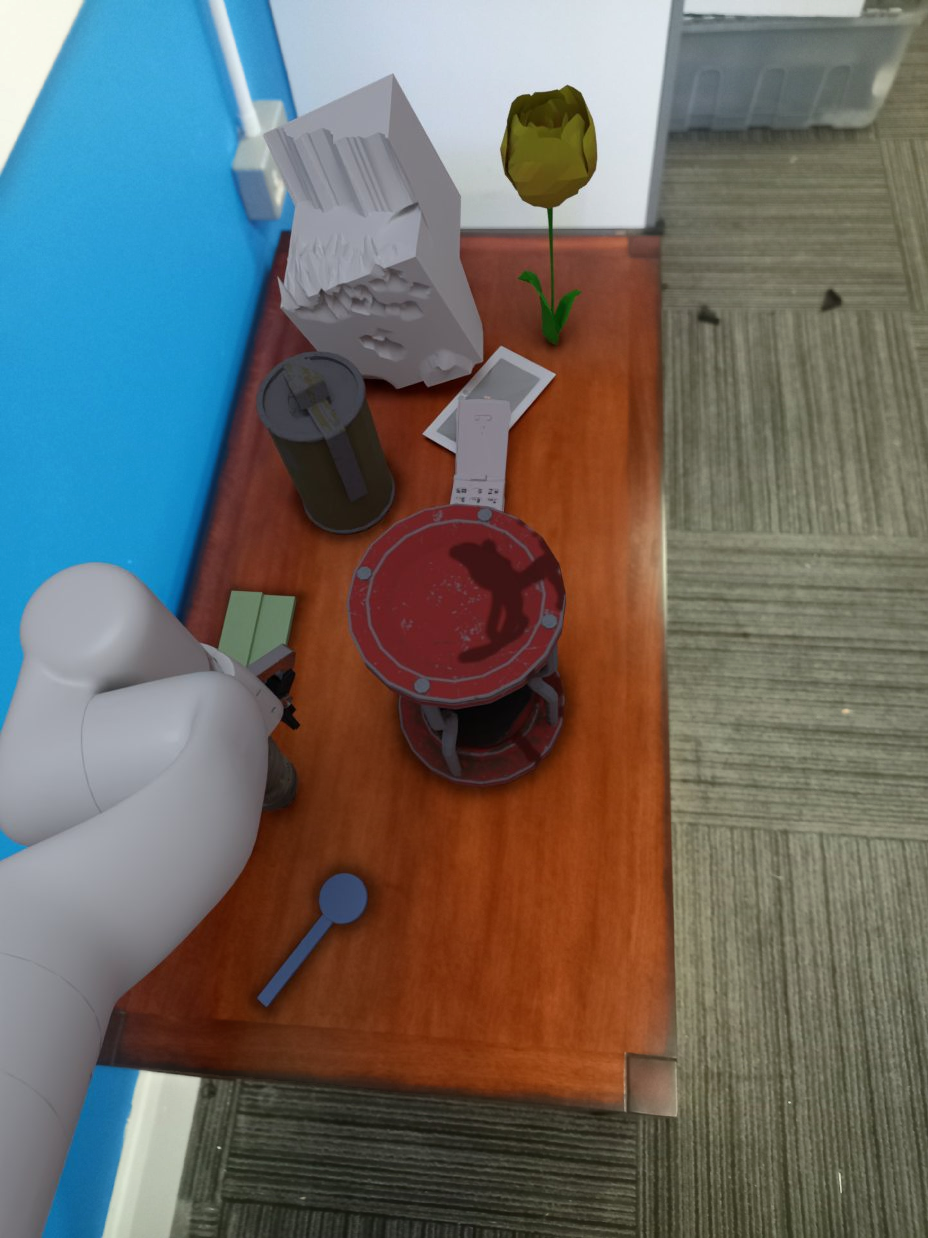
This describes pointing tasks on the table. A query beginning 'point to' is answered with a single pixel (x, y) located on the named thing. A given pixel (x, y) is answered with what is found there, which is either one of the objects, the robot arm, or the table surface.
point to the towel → (256, 625)
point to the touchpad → (494, 391)
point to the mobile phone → (481, 452)
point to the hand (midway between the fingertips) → (247, 762)
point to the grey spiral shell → (279, 780)
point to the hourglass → (465, 638)
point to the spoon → (322, 926)
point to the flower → (549, 169)
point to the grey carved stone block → (376, 240)
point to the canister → (327, 440)
